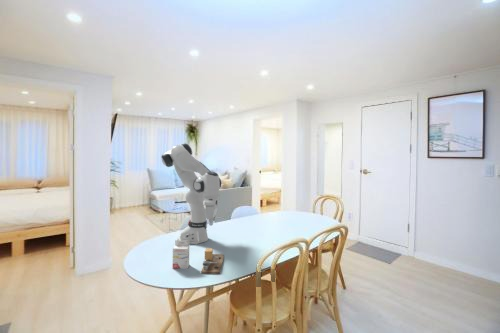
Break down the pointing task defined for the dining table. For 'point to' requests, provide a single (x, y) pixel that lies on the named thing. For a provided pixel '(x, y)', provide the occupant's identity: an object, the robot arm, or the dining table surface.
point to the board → (213, 265)
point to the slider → (209, 254)
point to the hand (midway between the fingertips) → (212, 222)
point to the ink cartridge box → (181, 254)
